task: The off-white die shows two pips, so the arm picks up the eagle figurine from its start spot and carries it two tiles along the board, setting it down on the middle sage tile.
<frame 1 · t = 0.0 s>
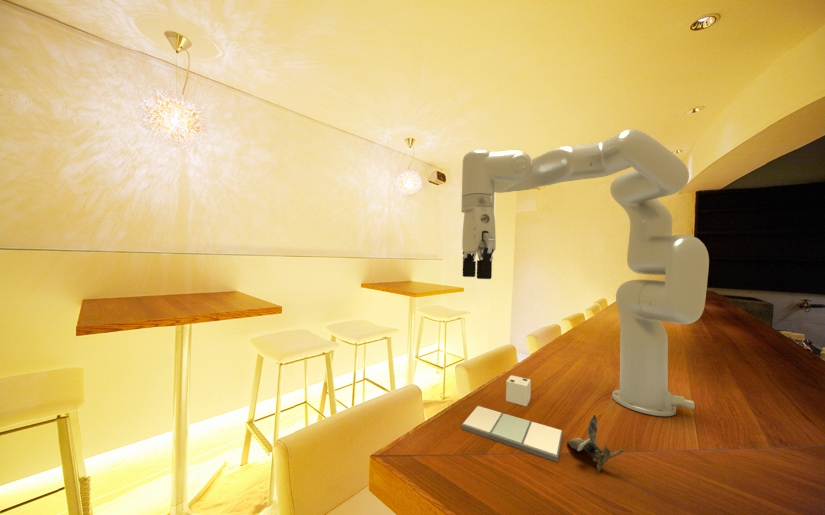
hand: (475, 277, 68), 31 cm above the table, tool pointing down, fingers open, 9 cm apart
die: (518, 400, 74), on the table
eagle figurine: (590, 458, 52), on the table
game board: (511, 431, 60), on the table
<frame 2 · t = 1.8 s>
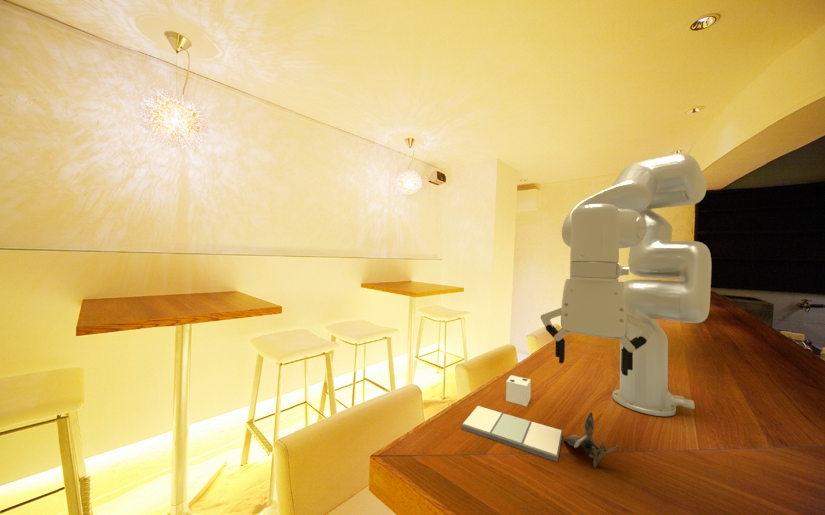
hand: (591, 367, 52), 16 cm above the table, tool pointing down, fingers open, 9 cm apart
nothing on the table moved.
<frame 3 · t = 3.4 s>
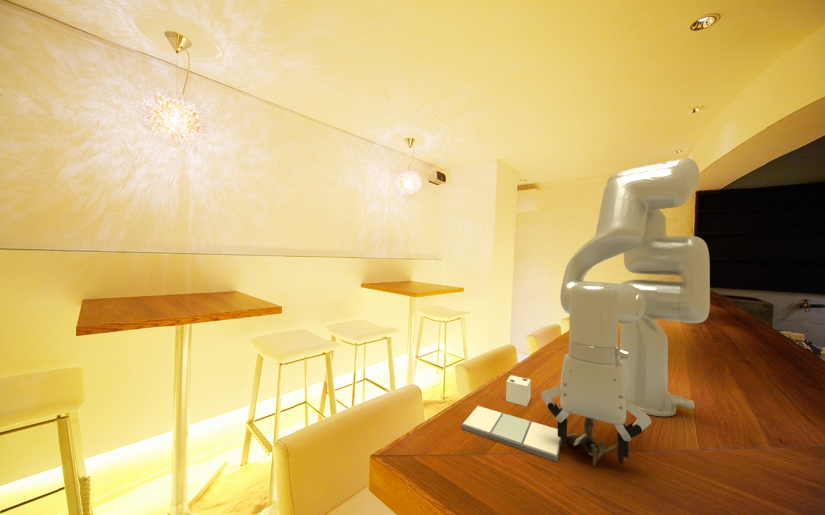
hand: (590, 449, 52), 1 cm above the table, tool pointing down, fingers closed on eagle figurine, 8 cm apart
eagle figurine: (586, 452, 54), on the table, touching gripper
everything else where it was.
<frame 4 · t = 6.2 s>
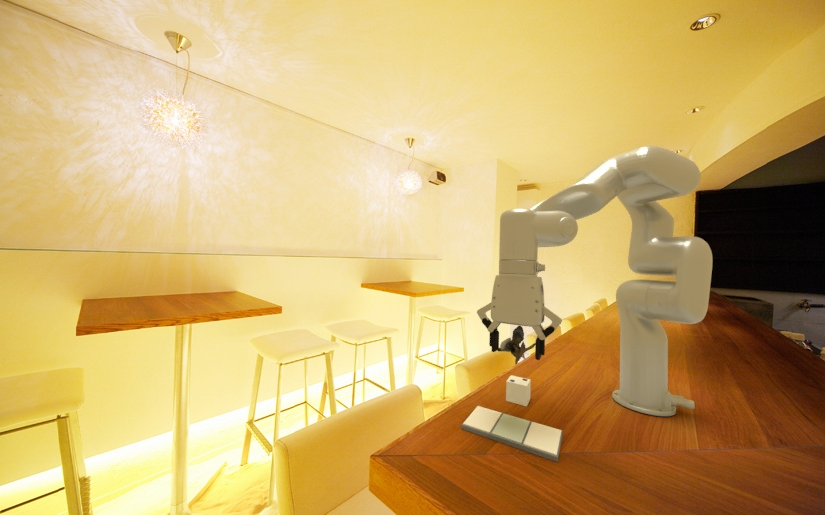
hand: (515, 353, 60), 16 cm above the table, tool pointing down, fingers closed on eagle figurine, 8 cm apart
eagle figurine: (514, 359, 61), point 14 cm above the table, touching gripper
everything else where it was.
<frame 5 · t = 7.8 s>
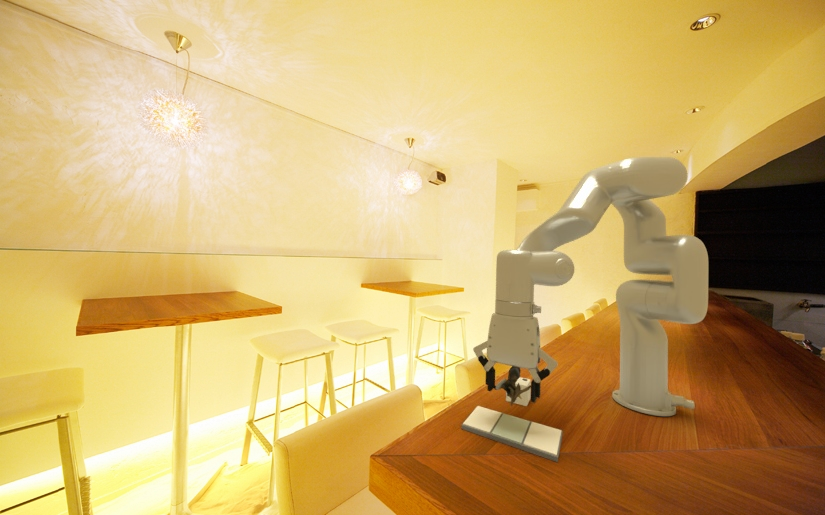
hand: (511, 393, 60), 8 cm above the table, tool pointing down, fingers closed on eagle figurine, 8 cm apart
eagle figurine: (510, 398, 61), point 6 cm above the table, touching gripper
everything else where it was.
when the fingers open (4 cm above the table, at t = 9.2 s): eagle figurine drops 1 cm, resting on game board.
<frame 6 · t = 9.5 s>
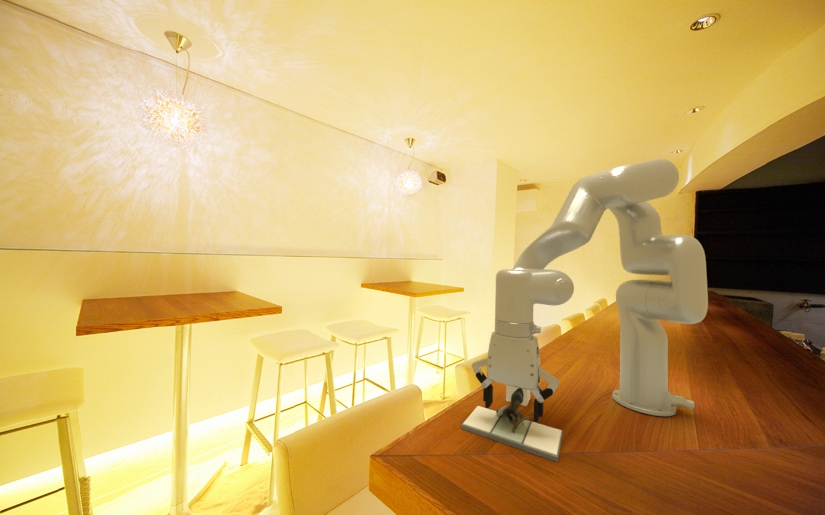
hand: (511, 412, 60), 4 cm above the table, tool pointing down, fingers open, 9 cm apart
eagle figurine: (512, 423, 61), point 1 cm above the table, touching game board
everything else where it was.
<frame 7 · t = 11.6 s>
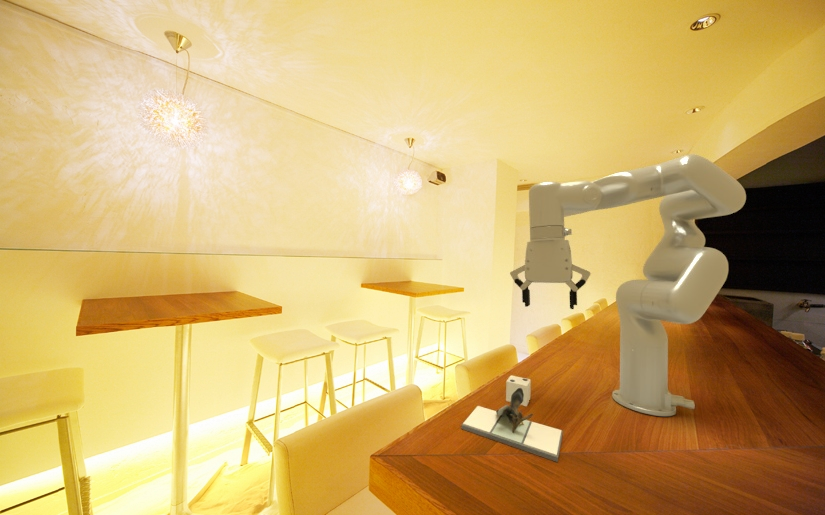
hand: (549, 307, 69), 25 cm above the table, tool pointing down, fingers open, 9 cm apart
nothing on the table moved.
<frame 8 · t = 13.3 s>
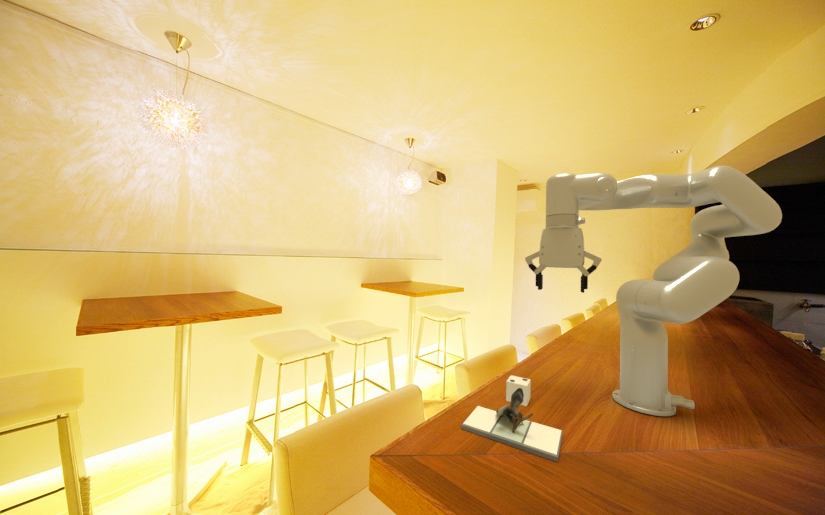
hand: (560, 290, 74), 28 cm above the table, tool pointing down, fingers open, 9 cm apart
nothing on the table moved.
at the end: eagle figurine 1.7 cm off-centre on the game board, point 0.8 cm above the game board's base; eagle figurine tilted 2°; the gripper is holding nothing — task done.
